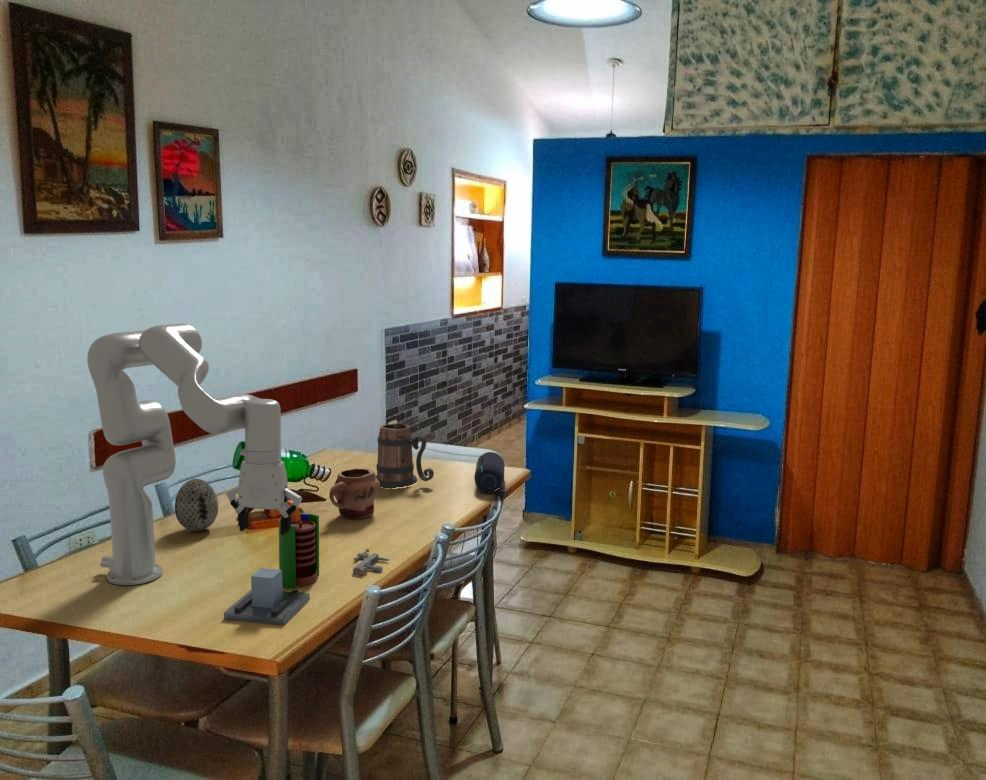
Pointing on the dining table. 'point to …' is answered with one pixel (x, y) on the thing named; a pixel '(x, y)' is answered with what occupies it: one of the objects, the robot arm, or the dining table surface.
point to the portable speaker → (489, 472)
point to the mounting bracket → (268, 609)
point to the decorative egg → (196, 505)
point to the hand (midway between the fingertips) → (264, 531)
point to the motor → (299, 550)
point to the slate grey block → (266, 588)
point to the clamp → (367, 563)
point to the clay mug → (355, 493)
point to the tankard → (399, 457)
